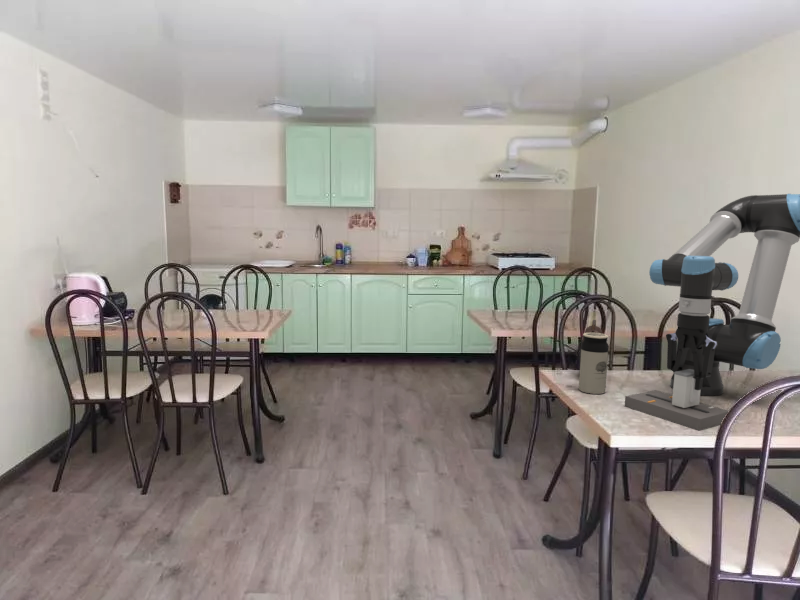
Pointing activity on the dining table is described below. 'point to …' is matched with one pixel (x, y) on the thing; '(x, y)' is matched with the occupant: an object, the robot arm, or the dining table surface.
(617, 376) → the dining table surface
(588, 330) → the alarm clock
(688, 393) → the fader
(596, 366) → the travel mug
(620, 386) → the dining table surface
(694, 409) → the console
